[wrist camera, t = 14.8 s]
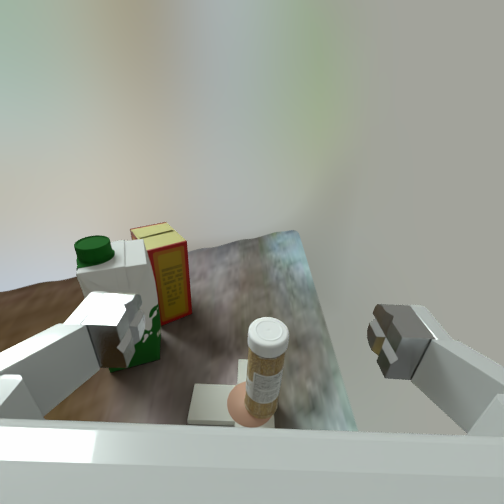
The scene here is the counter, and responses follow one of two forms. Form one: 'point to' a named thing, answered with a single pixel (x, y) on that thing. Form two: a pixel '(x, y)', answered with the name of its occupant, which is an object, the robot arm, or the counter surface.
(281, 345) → the sprinkles bottle
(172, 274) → the baking soda box
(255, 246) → the counter surface
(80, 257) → the milk carton
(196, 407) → the tee board
